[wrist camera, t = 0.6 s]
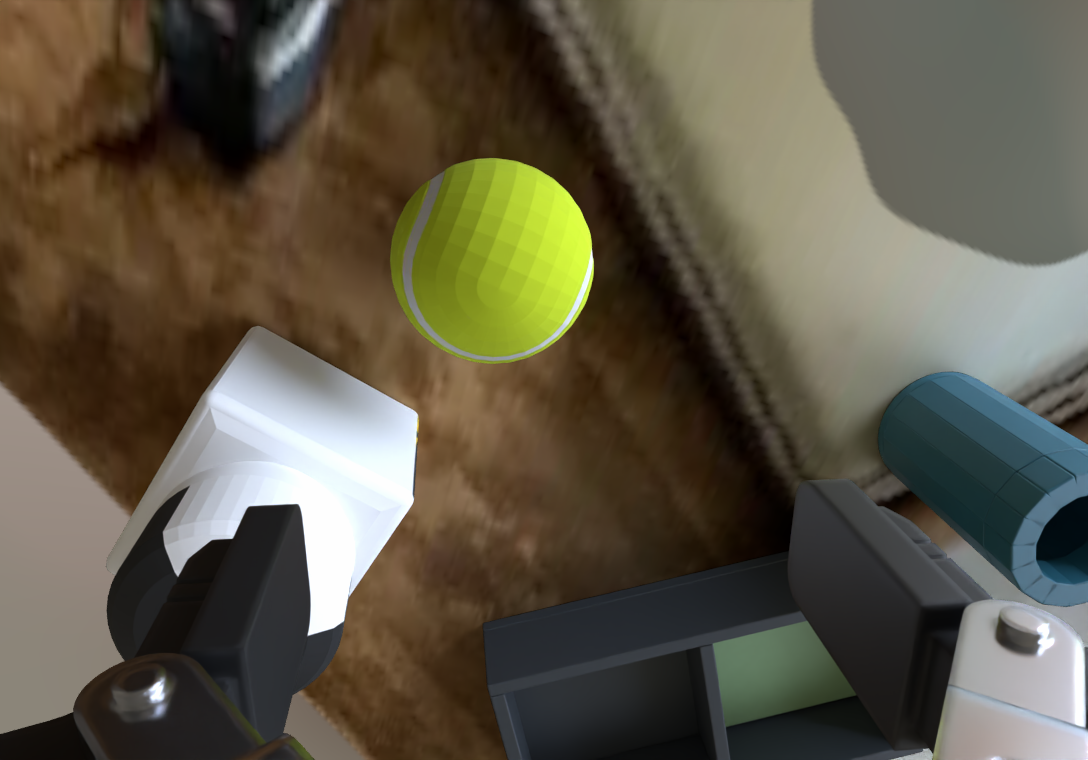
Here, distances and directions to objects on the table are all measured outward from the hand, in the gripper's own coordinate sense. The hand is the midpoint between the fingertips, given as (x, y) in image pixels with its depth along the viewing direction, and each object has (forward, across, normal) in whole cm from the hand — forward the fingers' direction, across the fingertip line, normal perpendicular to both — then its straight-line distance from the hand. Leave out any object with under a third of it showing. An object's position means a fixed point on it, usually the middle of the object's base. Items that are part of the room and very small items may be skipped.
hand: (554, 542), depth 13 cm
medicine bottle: (+19, +8, +6) cm, 22 cm away
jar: (+19, -19, +7) cm, 28 cm away
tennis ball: (+19, 0, -1) cm, 19 cm away
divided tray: (+19, -9, +18) cm, 28 cm away
